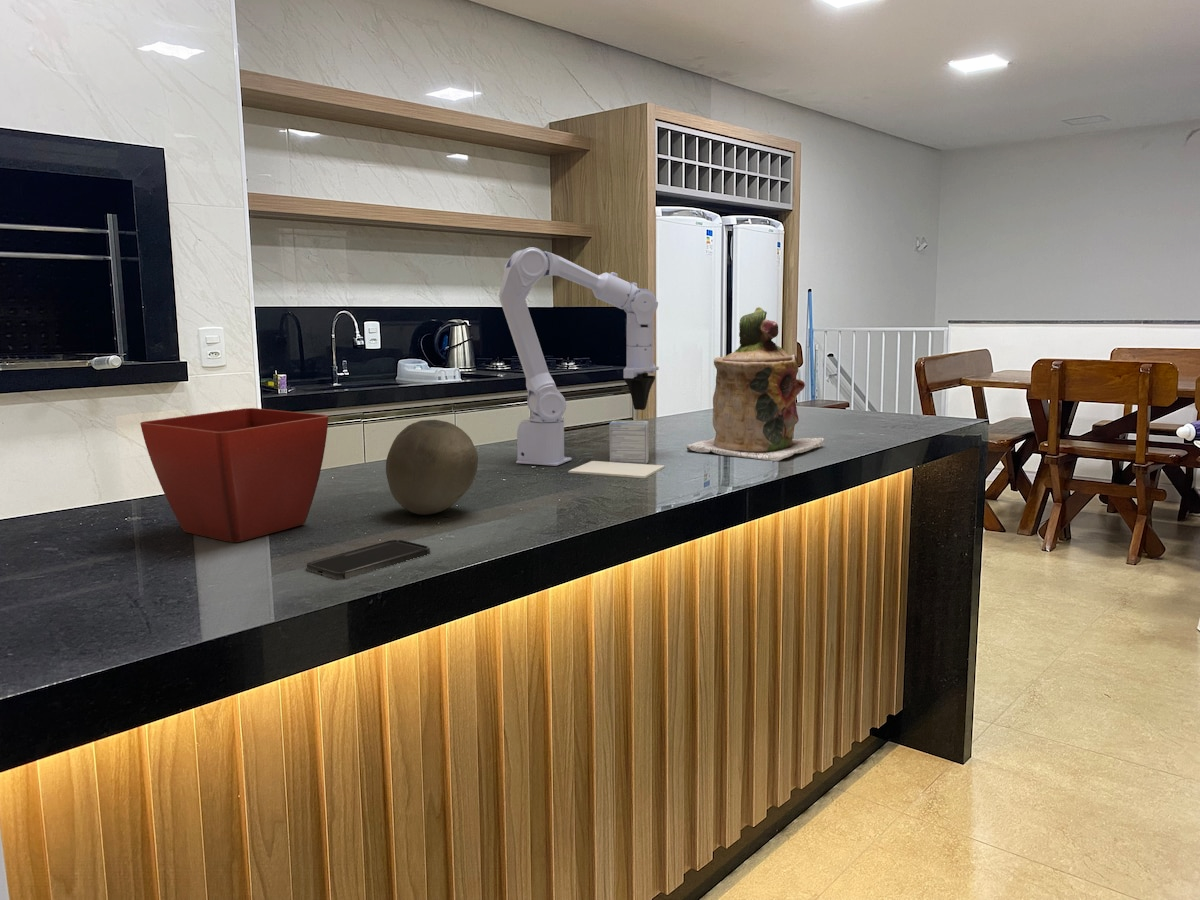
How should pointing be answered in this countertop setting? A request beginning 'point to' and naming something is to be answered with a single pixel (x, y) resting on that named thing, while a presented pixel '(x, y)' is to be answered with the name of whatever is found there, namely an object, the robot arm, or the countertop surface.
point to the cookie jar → (756, 397)
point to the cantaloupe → (430, 466)
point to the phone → (367, 559)
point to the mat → (617, 469)
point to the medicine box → (629, 441)
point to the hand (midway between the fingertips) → (639, 409)
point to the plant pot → (238, 469)
